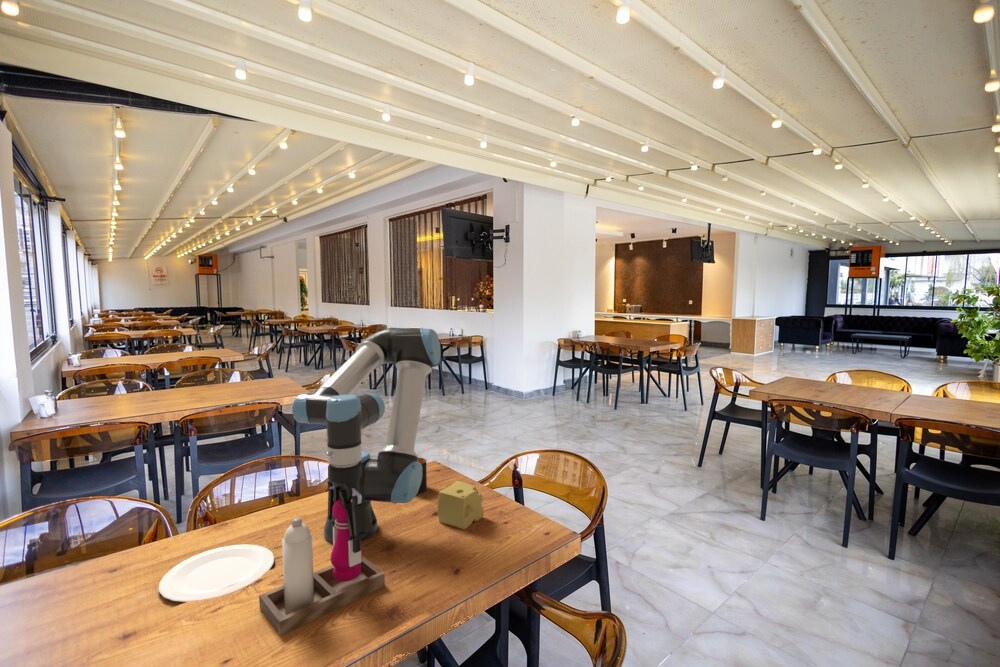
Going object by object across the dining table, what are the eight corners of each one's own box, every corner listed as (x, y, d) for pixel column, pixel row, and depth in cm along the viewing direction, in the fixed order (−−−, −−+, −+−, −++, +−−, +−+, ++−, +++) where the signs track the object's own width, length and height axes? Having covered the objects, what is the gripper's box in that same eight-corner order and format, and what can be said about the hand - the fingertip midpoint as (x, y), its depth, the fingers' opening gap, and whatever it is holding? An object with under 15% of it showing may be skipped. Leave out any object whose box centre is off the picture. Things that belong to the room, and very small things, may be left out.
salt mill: (280, 607, 105) (277, 519, 103) (307, 595, 109) (304, 510, 107) (291, 621, 101) (287, 529, 99) (318, 607, 105) (316, 519, 103)
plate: (256, 540, 137) (256, 534, 137) (289, 576, 119) (289, 569, 119) (149, 575, 120) (149, 568, 120) (170, 623, 102) (169, 616, 102)
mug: (409, 499, 164) (408, 470, 163) (401, 487, 175) (400, 459, 174) (432, 495, 167) (432, 466, 166) (423, 483, 178) (422, 456, 177)
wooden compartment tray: (280, 641, 96) (279, 621, 96) (259, 613, 105) (259, 595, 104) (384, 590, 113) (384, 573, 113) (359, 569, 122) (359, 554, 121)
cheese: (483, 517, 151) (483, 486, 150) (463, 531, 142) (463, 498, 141) (457, 509, 156) (457, 479, 156) (436, 522, 147) (436, 491, 146)
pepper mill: (353, 584, 108) (351, 499, 107) (324, 581, 110) (322, 496, 108) (368, 567, 115) (367, 487, 114) (341, 563, 117) (339, 484, 115)
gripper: (310, 456, 115) (313, 547, 117) (350, 478, 101) (352, 582, 102) (340, 449, 120) (342, 536, 122) (381, 469, 106) (383, 568, 108)
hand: (347, 557), depth 112 cm, fingers closed on pepper mill, 7 cm apart
